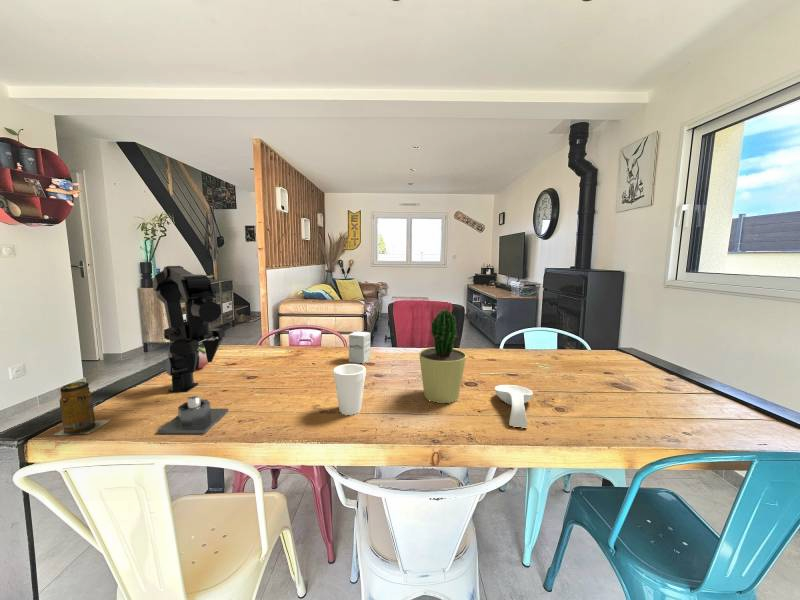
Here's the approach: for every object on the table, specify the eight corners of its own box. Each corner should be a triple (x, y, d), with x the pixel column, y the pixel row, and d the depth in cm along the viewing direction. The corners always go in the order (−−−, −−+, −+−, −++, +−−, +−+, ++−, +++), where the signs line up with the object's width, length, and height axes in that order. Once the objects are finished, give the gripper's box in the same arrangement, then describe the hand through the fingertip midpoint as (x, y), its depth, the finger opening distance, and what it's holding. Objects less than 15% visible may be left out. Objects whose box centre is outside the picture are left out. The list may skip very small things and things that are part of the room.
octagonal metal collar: (190, 412, 93) (189, 399, 92) (214, 412, 93) (213, 399, 93) (174, 425, 86) (172, 411, 85) (200, 425, 86) (199, 411, 86)
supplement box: (348, 362, 141) (348, 334, 139) (356, 357, 148) (355, 330, 146) (363, 364, 138) (363, 335, 137) (370, 359, 145) (370, 332, 143)
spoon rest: (493, 392, 112) (494, 372, 111) (529, 395, 110) (530, 375, 109) (496, 426, 90) (498, 402, 89) (542, 432, 87) (544, 407, 86)
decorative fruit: (180, 371, 128) (178, 346, 127) (199, 364, 136) (197, 341, 135) (199, 373, 126) (197, 348, 124) (216, 366, 133) (215, 343, 132)
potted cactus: (430, 383, 118) (432, 303, 114) (470, 393, 110) (474, 307, 106) (409, 399, 105) (411, 309, 101) (454, 411, 97) (457, 314, 93)
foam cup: (332, 405, 100) (331, 365, 98) (361, 401, 103) (361, 362, 102) (337, 420, 91) (336, 376, 90) (369, 415, 95) (369, 372, 93)
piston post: (187, 411, 96) (185, 389, 95) (228, 411, 96) (226, 389, 95) (158, 433, 84) (155, 408, 83) (204, 433, 84) (202, 408, 83)
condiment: (77, 421, 89) (72, 380, 88) (110, 420, 90) (106, 379, 89) (52, 436, 82) (46, 391, 81) (88, 434, 83) (82, 390, 81)
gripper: (189, 311, 106) (193, 357, 108) (146, 323, 87) (152, 378, 89) (224, 311, 106) (227, 357, 108) (188, 323, 87) (192, 378, 90)
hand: (201, 367), depth 99 cm, fingers open, 9 cm apart
